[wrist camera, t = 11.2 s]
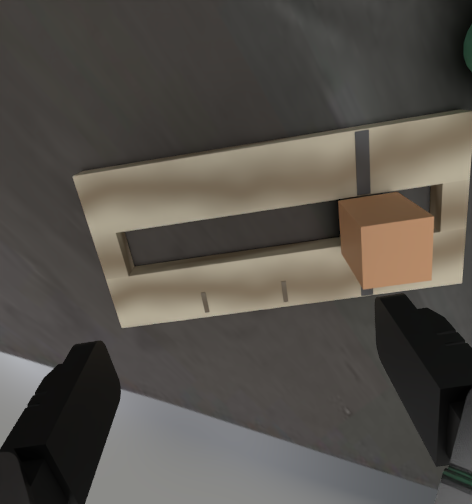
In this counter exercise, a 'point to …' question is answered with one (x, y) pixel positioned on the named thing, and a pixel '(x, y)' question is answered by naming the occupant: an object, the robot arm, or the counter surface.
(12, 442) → the robot arm
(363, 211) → the fader knob
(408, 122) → the board
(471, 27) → the mug
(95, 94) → the counter surface
